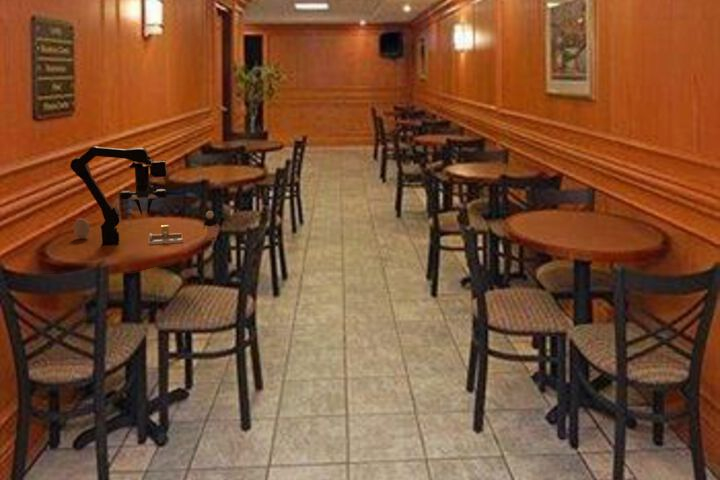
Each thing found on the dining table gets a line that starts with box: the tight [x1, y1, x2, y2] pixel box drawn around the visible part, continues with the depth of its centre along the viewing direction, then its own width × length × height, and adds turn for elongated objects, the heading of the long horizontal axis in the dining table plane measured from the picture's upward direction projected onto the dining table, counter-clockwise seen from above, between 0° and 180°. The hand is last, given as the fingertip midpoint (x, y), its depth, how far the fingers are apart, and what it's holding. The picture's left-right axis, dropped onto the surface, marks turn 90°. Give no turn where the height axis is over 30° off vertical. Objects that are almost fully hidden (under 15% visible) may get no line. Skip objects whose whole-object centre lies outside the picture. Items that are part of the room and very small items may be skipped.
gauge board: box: [148, 232, 184, 245], centre depth 330 cm, size 14×10×3 cm
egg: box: [73, 217, 90, 240], centre depth 336 cm, size 7×7×9 cm
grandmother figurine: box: [202, 210, 220, 241], centre depth 331 cm, size 8×4×13 cm, turn 141°
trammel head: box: [160, 224, 170, 239], centre depth 329 cm, size 3×6×5 cm, turn 14°
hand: (144, 214), depth 327 cm, fingers open, 2 cm apart
